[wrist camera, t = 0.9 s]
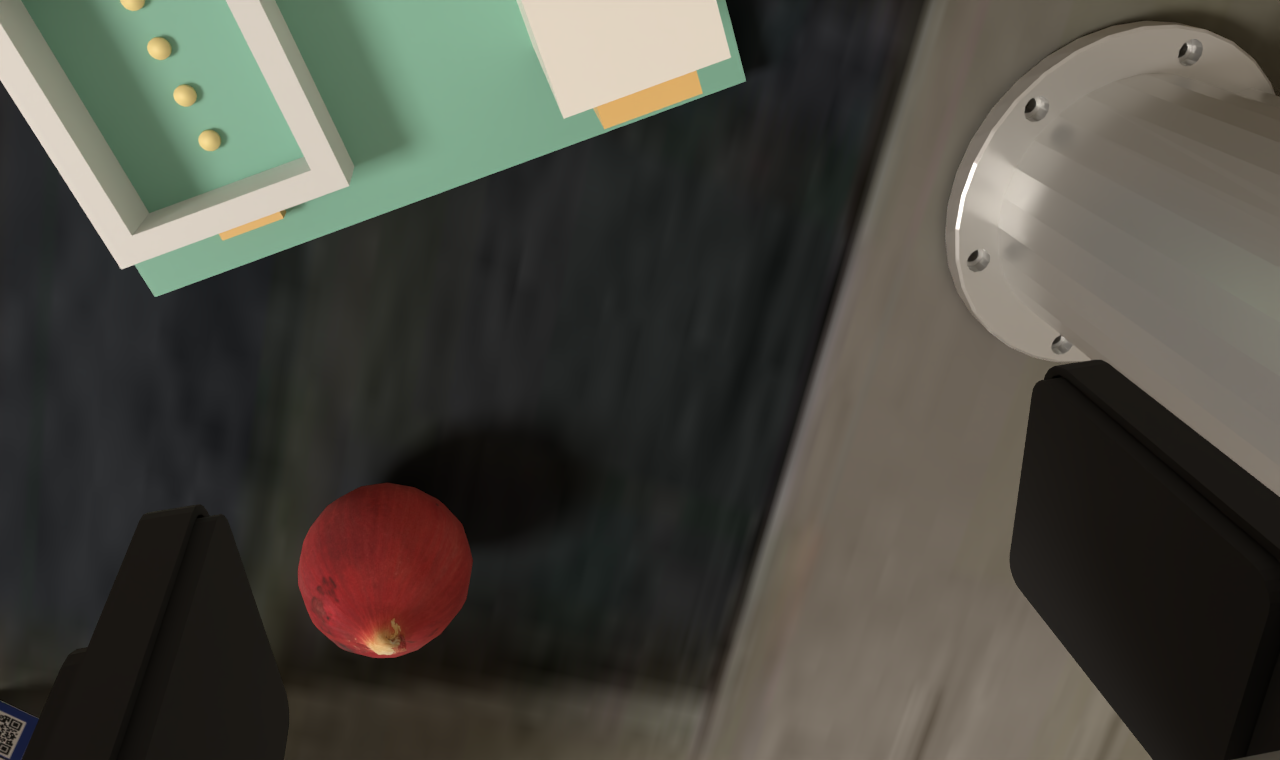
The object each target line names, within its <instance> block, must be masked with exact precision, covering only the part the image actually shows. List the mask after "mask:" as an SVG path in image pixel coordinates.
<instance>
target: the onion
mask: <svg viewBox="0 0 1280 760" xmlns="http://www.w3.org/2000/svg"><path fill="white" fill-rule="evenodd" d="M472 563H473V560H472V555H471V551H470V547H469V544H468V540H467V537H466V534H465V531H464V528H463V525H462V523H461V522H460V521H459V520H458V519H457V518H456V517H455V516H454V515H453V514H452V512H451V511H450V510H449V509H448V508H447V507H446V506H445V505H444V504H443V503H442V502H440V501H439V500H438V499H436V498H434V497H432V496H430V495H429V494H427V493H425V492H423V491H421V490H419V489H417V488H415V487H410V486H405V485H399V484H393V483H381V484H375V485H368V486H361V487H359V488H357V489H355V490H353V491H351V492H349V493H348V494H346V495H344V496H342V497H340V498H338V499H337V500H336V501H334V502H333V503H331V504H330V505H328V506H327V507H326V508H325V509H324V511H323V512H322V513H321V514H320V516H319V517H318V518H317V519H316V521H315V522H314V523H313V525H312V526H311V527H310V529H309V531H308V533H307V536H306V538H305V540H304V542H303V547H302V552H301V557H300V562H299V567H298V585H299V588H300V591H301V594H302V597H303V599H304V602H305V605H306V608H307V611H308V613H309V615H310V618H311V620H312V622H313V623H314V625H315V626H316V627H317V628H318V629H319V630H320V631H321V632H322V633H323V634H324V635H326V636H327V637H328V638H329V639H330V640H331V641H333V642H334V643H335V644H336V645H337V646H338V647H340V648H341V649H343V650H345V651H349V652H353V653H357V654H360V655H364V656H368V657H372V658H395V657H398V656H401V655H404V654H407V653H410V652H413V651H416V650H418V649H420V648H421V647H422V646H424V645H425V644H427V643H428V642H430V641H431V640H432V639H434V638H435V637H437V636H438V635H440V634H441V633H442V632H443V630H444V629H445V628H446V627H447V625H448V624H449V623H450V622H451V621H452V619H453V618H454V617H455V616H456V614H457V613H458V612H459V611H460V610H461V608H462V606H463V604H464V602H465V600H466V599H467V593H468V587H469V581H470V575H471V569H472Z"/></svg>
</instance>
